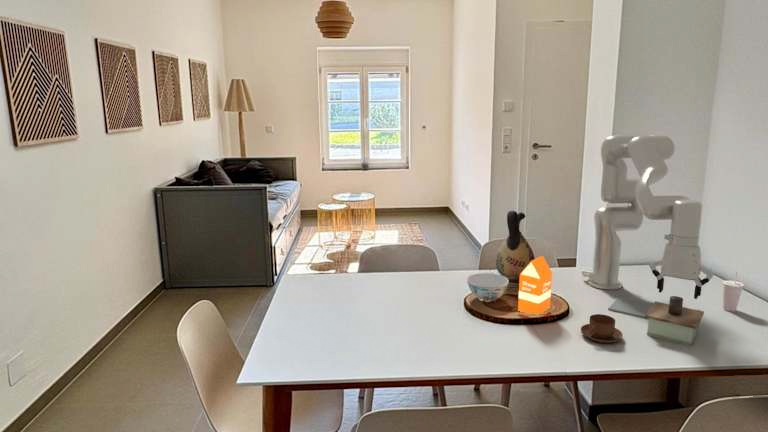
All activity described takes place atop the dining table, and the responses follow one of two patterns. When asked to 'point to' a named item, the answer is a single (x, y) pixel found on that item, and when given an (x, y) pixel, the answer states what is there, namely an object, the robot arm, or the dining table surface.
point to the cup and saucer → (601, 329)
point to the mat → (631, 306)
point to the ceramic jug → (514, 251)
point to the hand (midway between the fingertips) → (678, 294)
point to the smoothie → (731, 294)
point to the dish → (671, 332)
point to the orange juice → (535, 287)
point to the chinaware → (487, 285)
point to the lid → (675, 313)
